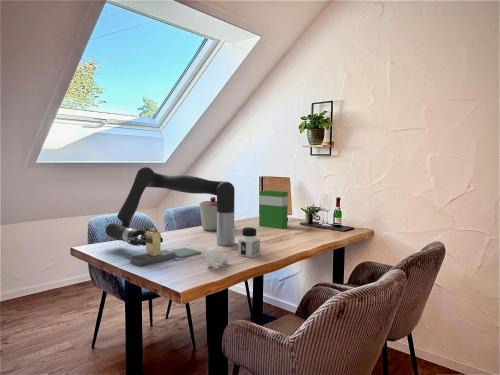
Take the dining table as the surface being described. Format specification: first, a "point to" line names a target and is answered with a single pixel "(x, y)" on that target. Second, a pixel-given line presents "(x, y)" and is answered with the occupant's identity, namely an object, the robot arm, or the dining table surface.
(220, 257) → the white humped figurine
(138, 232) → the robot arm
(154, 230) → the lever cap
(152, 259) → the plane body
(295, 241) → the dining table surface
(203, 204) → the canister
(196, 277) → the dining table surface
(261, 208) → the green cereal box
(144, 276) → the dining table surface
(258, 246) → the container
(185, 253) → the mat
